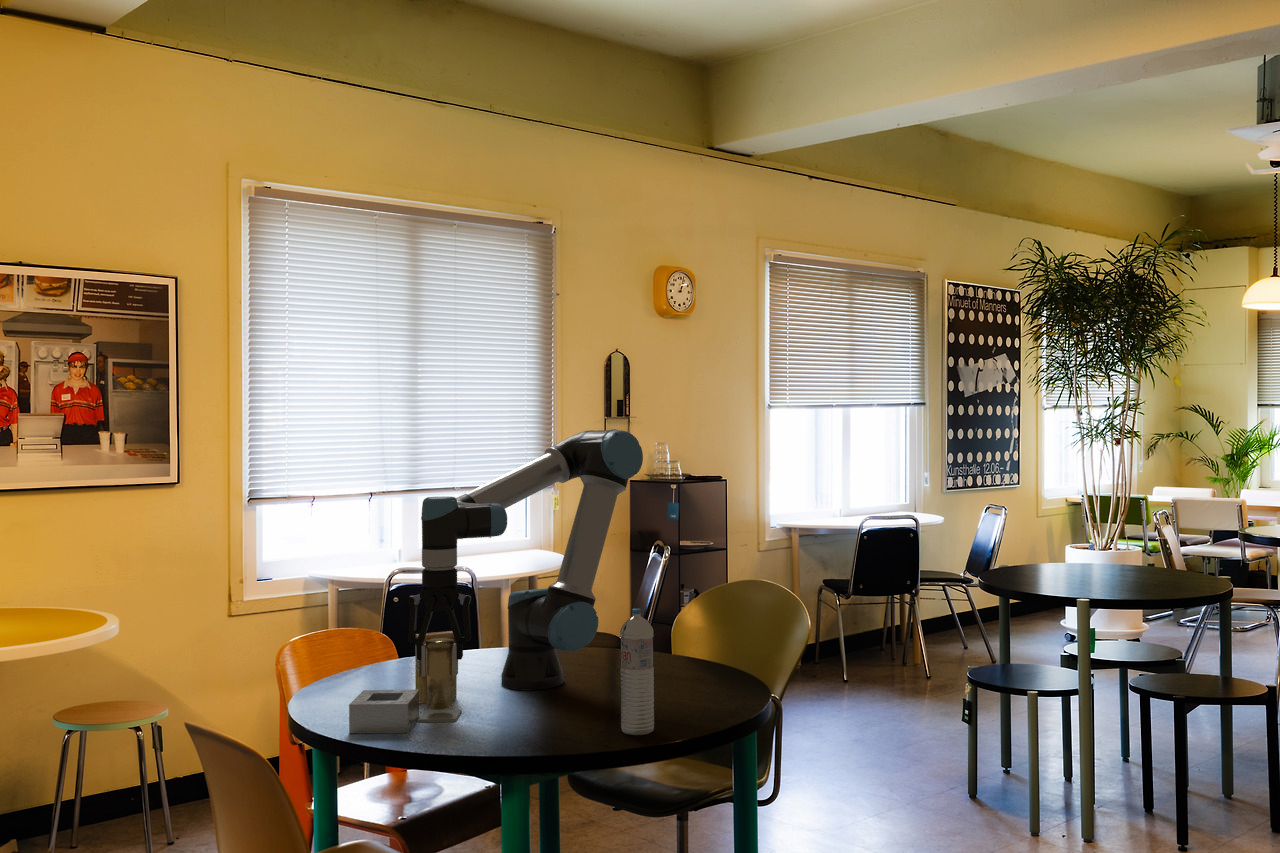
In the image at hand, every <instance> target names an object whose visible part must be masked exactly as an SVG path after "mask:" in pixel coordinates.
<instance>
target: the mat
mask: <svg viewBox="0 0 1280 853" xmlns="http://www.w3.org/2000/svg"><path fill="white" fill-rule="evenodd" d="M461 714H462V708H461V709H460V708H456V709H455V708H448V709H442V710H433V709H424V711H423V712H422V713H421V715H419V719H418V720H417V723H456V722H457V720H458V719H459V717H460V715H461Z"/></svg>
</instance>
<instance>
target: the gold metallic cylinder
mask: <svg viewBox="0 0 1280 853" xmlns="http://www.w3.org/2000/svg"><path fill="white" fill-rule="evenodd" d="M453 645H454V640H453V639H449V638H436V639H429V640H427V641H426V648H427V703H426V704H427V707H426V708H427V709H428V710H442V709H452V708H453V706H454V702H453V700H454V699H453Z"/></svg>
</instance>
